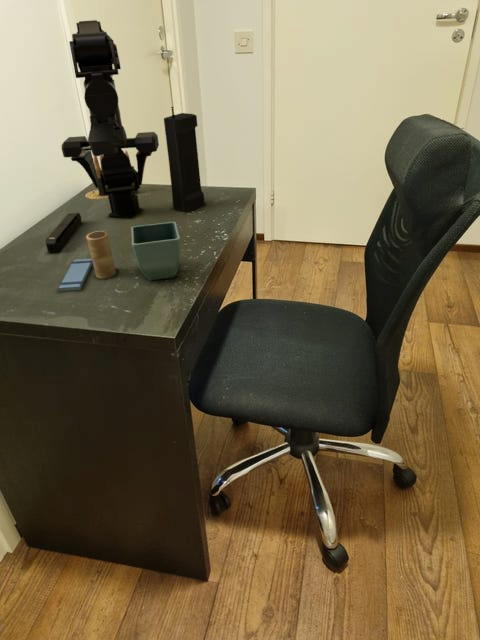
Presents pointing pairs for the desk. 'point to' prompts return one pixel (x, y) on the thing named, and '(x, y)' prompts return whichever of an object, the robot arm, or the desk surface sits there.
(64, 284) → the light blue flat block
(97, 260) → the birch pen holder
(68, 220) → the black rectangular bar
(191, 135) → the portable radio
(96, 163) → the ammunition clip
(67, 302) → the desk surface
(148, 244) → the flower pot
